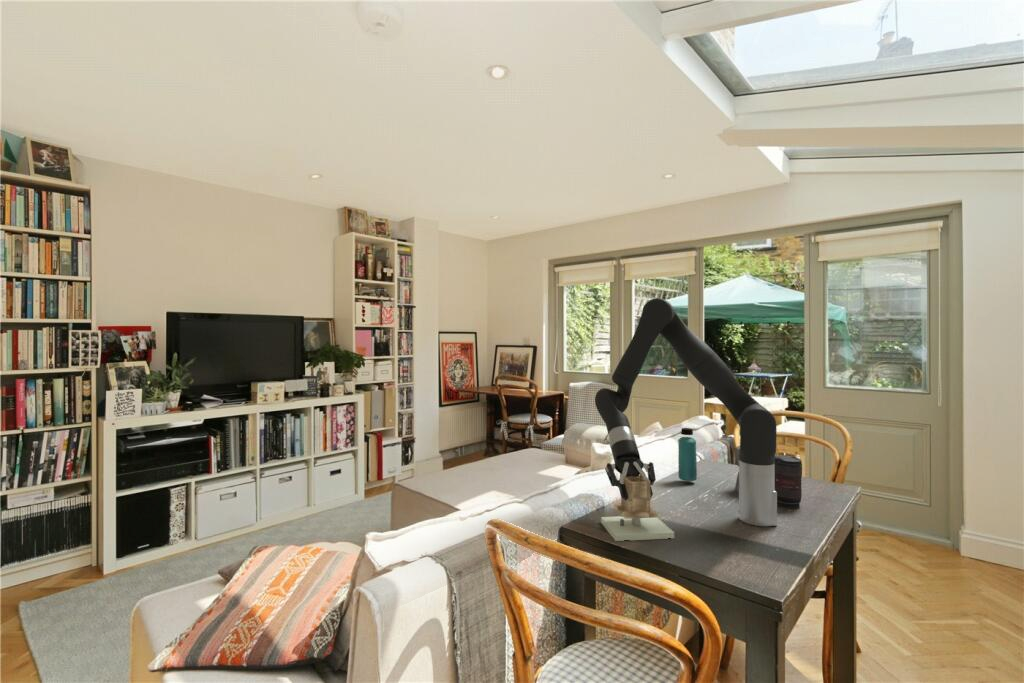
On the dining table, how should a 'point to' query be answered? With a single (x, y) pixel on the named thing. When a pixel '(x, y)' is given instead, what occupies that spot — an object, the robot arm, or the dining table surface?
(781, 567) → the dining table surface
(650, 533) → the post plate
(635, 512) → the flange collar
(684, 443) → the beverage bottle
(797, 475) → the camera lens
